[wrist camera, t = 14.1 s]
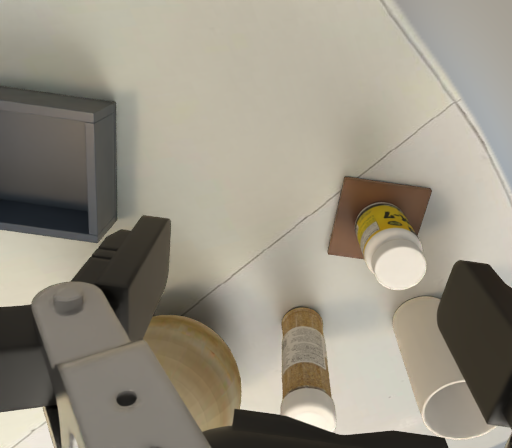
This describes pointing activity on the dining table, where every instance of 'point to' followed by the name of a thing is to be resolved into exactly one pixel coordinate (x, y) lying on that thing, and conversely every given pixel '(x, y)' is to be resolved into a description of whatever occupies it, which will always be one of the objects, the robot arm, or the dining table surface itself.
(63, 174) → the open box
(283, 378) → the sprinkles bottle
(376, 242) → the supplement bottle
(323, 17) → the dining table surface
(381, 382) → the dining table surface
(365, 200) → the coaster
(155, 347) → the decorative ball
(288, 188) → the dining table surface
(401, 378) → the dining table surface
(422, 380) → the mug
